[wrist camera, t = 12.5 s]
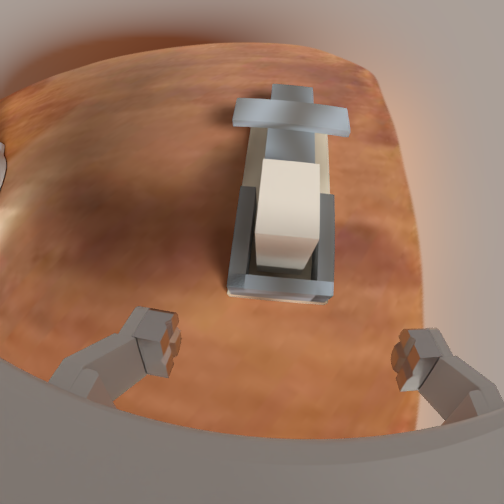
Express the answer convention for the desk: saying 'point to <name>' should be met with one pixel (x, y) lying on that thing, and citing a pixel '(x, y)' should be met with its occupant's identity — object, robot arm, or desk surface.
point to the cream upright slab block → (287, 216)
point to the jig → (259, 147)
